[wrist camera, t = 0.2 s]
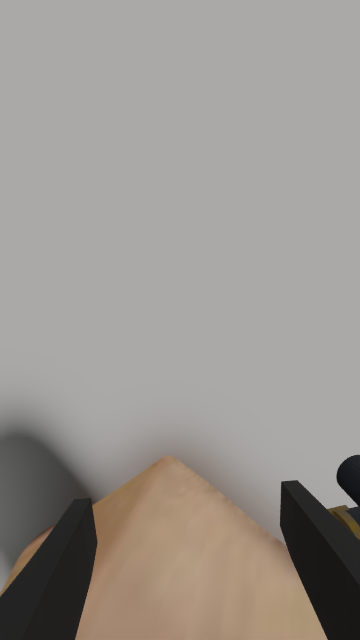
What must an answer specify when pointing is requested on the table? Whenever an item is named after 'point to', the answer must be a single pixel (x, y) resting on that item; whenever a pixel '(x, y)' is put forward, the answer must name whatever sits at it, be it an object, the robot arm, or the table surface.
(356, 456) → the pipe connector
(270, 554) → the table surface
